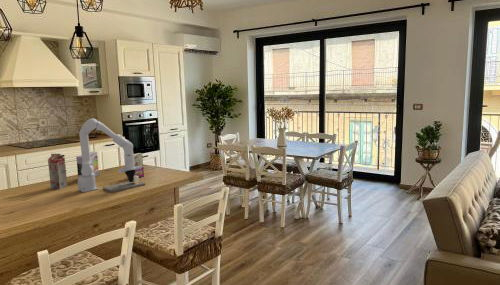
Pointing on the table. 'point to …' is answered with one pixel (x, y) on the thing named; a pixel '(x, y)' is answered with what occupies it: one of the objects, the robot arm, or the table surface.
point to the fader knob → (135, 179)
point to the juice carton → (57, 171)
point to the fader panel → (122, 186)
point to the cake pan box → (94, 162)
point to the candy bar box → (138, 162)
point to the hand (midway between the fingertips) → (130, 181)
